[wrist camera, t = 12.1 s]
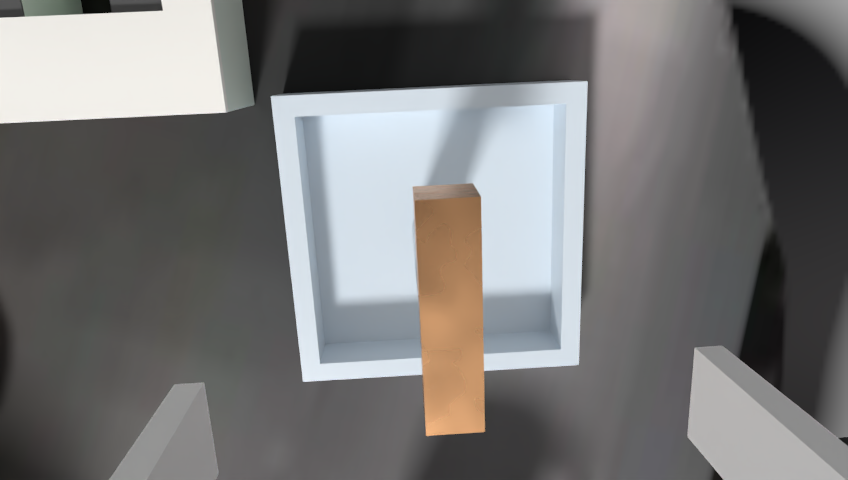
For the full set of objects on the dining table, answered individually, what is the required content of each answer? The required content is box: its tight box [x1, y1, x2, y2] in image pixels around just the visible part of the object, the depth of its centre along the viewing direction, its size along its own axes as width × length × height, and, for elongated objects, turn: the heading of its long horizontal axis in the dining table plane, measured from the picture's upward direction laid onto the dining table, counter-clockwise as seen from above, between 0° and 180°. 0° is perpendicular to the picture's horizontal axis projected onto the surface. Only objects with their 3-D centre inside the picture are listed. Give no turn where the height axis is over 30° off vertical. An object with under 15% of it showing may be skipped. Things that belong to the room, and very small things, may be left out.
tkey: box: [412, 183, 485, 436], centre depth 27 cm, size 9×2×12 cm, turn 2°
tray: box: [271, 80, 588, 382], centre depth 32 cm, size 15×15×3 cm
